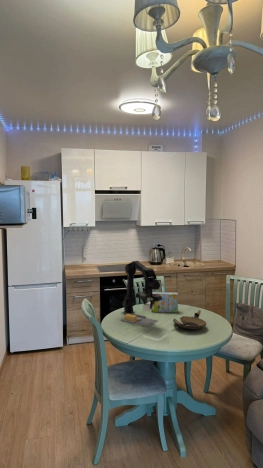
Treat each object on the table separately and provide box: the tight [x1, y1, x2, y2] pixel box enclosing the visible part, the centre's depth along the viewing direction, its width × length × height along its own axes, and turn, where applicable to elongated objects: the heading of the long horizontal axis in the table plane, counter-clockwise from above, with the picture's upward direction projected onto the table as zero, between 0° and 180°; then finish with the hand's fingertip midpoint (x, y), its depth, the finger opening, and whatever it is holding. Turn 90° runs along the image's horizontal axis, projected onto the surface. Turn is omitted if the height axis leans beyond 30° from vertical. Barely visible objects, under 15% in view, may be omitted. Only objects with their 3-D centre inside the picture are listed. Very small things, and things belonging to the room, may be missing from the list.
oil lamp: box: [172, 309, 207, 330], centre depth 220 cm, size 22×30×8 cm
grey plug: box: [142, 301, 154, 312], centre depth 223 cm, size 4×9×4 cm, turn 145°
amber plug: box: [123, 313, 137, 322], centre depth 227 cm, size 4×9×4 cm, turn 55°
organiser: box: [120, 313, 159, 328], centre depth 228 cm, size 23×16×3 cm
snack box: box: [150, 291, 179, 313], centre depth 254 cm, size 21×6×15 cm, turn 84°
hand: (148, 308), depth 223 cm, fingers closed on grey plug, 4 cm apart
